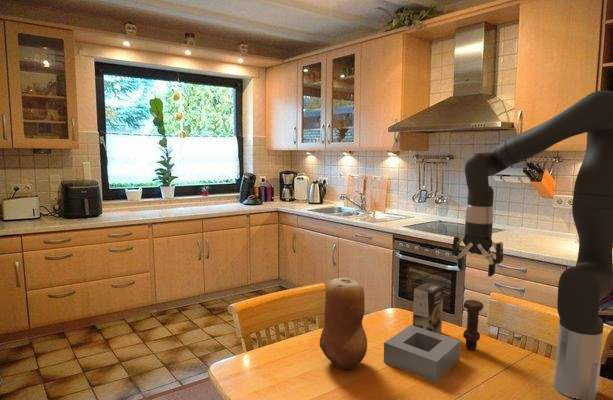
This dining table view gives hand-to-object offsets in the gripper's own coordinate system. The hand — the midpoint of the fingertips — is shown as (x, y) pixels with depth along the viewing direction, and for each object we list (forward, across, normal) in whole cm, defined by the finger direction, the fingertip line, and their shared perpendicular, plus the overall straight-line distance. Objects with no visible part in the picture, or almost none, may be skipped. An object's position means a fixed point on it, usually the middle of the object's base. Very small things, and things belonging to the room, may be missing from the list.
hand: (475, 273), depth 125 cm
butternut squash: (+25, +24, +34) cm, 48 cm away
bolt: (+25, 0, 0) cm, 25 cm away
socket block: (+24, +8, +17) cm, 31 cm away
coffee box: (+25, +15, -1) cm, 29 cm away
